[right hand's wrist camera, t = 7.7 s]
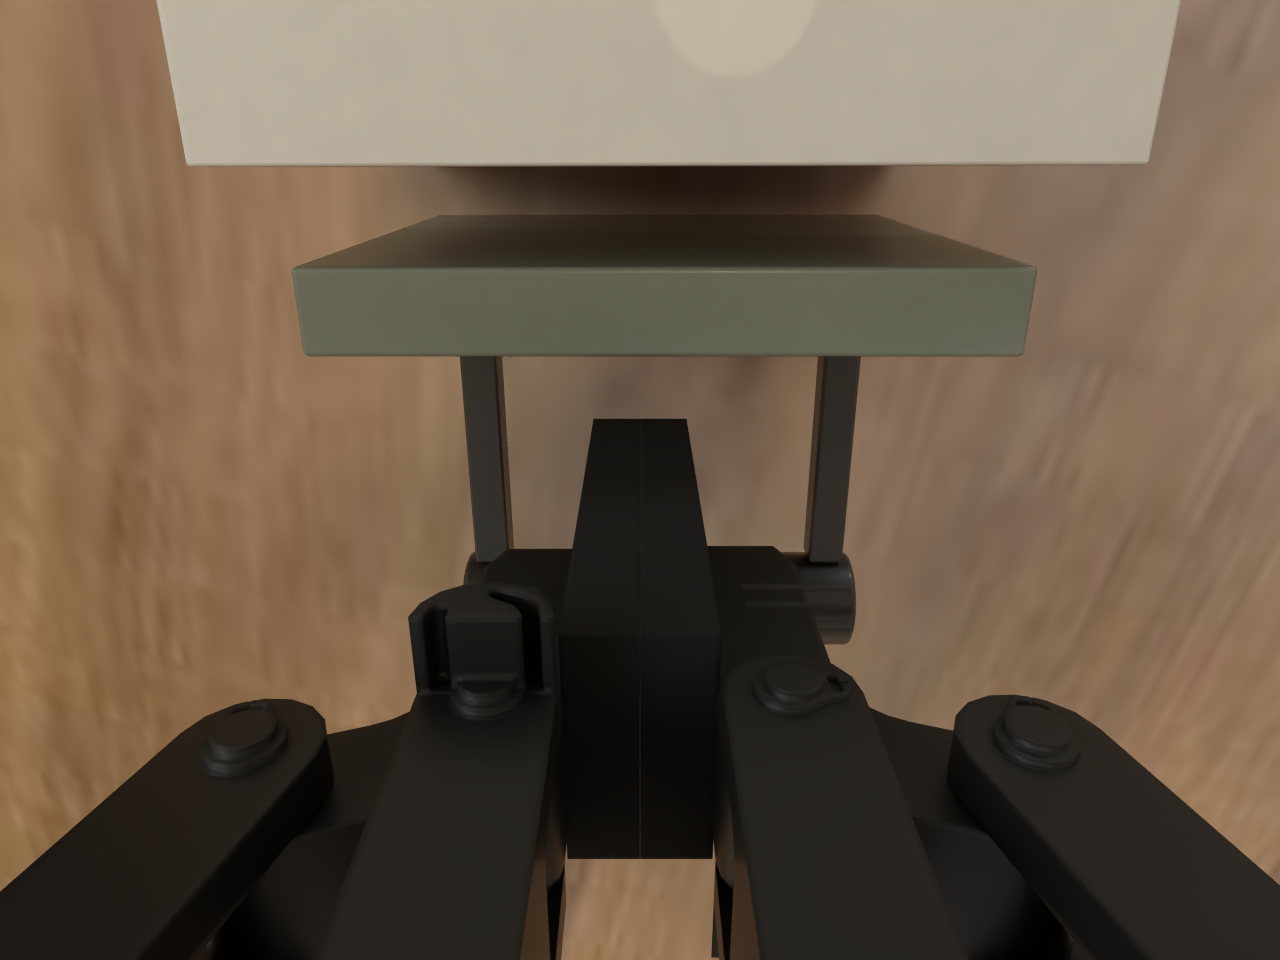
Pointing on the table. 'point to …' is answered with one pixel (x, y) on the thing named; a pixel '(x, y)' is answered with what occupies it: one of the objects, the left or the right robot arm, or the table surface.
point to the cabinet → (667, 82)
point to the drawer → (668, 324)
